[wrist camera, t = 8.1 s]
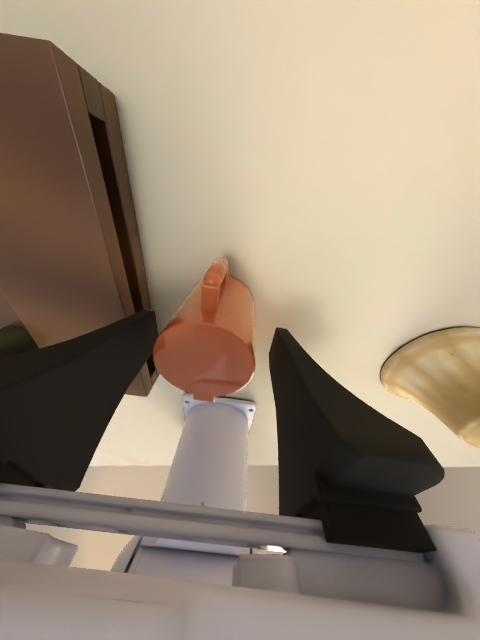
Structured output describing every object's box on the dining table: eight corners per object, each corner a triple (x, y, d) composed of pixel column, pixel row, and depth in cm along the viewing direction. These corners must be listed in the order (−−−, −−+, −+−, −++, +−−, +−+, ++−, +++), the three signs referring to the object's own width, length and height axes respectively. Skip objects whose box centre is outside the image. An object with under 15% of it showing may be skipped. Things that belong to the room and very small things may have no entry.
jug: (248, 340, 15) (246, 408, 10) (191, 333, 15) (160, 397, 10) (263, 255, 11) (273, 294, 6) (188, 244, 11) (134, 275, 6)
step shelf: (162, 369, 18) (147, 397, 15) (19, 351, 17) (-20, 376, 15) (114, 93, 8) (49, 39, 5) (-211, 44, 8) (-440, -37, 5)
